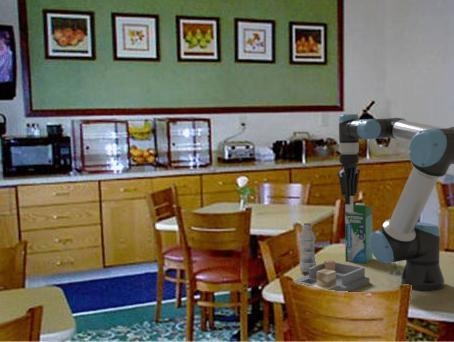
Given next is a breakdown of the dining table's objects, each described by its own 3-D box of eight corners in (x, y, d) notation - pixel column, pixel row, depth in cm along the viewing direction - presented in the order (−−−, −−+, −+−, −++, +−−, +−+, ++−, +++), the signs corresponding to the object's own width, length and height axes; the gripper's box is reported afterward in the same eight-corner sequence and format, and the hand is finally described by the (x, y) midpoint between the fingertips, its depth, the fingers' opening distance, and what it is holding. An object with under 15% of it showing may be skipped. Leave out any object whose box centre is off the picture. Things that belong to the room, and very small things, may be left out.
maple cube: (336, 284, 212) (335, 271, 212) (328, 287, 209) (327, 274, 208) (324, 281, 216) (324, 268, 215) (316, 285, 212) (316, 271, 212)
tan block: (337, 274, 225) (337, 261, 225) (331, 276, 222) (331, 263, 222) (328, 272, 228) (328, 259, 227) (322, 274, 225) (322, 262, 225)
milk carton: (372, 258, 254) (372, 202, 252) (365, 263, 247) (365, 205, 244) (352, 256, 259) (352, 200, 256) (345, 261, 251) (344, 203, 249)
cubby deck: (369, 282, 219) (369, 268, 219) (336, 297, 204) (335, 282, 203) (325, 273, 233) (325, 260, 233) (291, 286, 218) (290, 272, 217)
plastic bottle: (312, 276, 231) (311, 226, 229) (297, 273, 234) (296, 225, 232) (319, 271, 236) (318, 223, 234) (303, 269, 240) (302, 222, 238)
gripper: (349, 151, 237) (350, 208, 240) (331, 154, 228) (332, 213, 231) (366, 152, 232) (366, 210, 235) (347, 154, 223) (348, 215, 225)
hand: (349, 212), depth 233 cm, fingers closed
